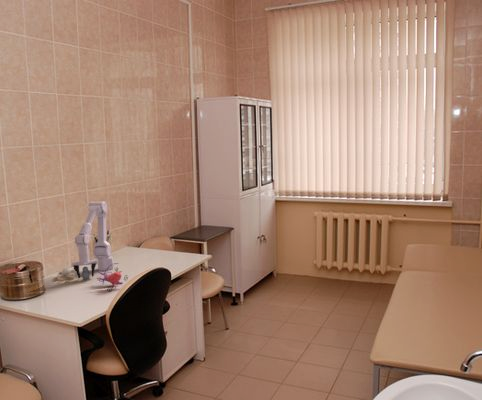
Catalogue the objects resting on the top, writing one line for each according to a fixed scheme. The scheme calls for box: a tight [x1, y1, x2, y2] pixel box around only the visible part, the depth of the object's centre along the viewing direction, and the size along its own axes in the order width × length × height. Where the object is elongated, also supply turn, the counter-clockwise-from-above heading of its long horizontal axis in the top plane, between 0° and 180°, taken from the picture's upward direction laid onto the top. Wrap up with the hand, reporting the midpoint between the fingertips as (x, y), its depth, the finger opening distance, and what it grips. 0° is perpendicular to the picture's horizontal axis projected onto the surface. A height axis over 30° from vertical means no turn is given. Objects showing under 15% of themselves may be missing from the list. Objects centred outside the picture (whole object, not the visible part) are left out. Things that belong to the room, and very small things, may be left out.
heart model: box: [96, 262, 129, 292], centre depth 267 cm, size 15×9×18 cm
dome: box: [61, 267, 72, 274], centre depth 286 cm, size 6×6×6 cm
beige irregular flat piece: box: [54, 269, 92, 285], centre depth 284 cm, size 22×17×4 cm
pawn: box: [81, 266, 91, 281], centre depth 281 cm, size 4×4×8 cm
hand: (86, 277), depth 281 cm, fingers open, 7 cm apart
